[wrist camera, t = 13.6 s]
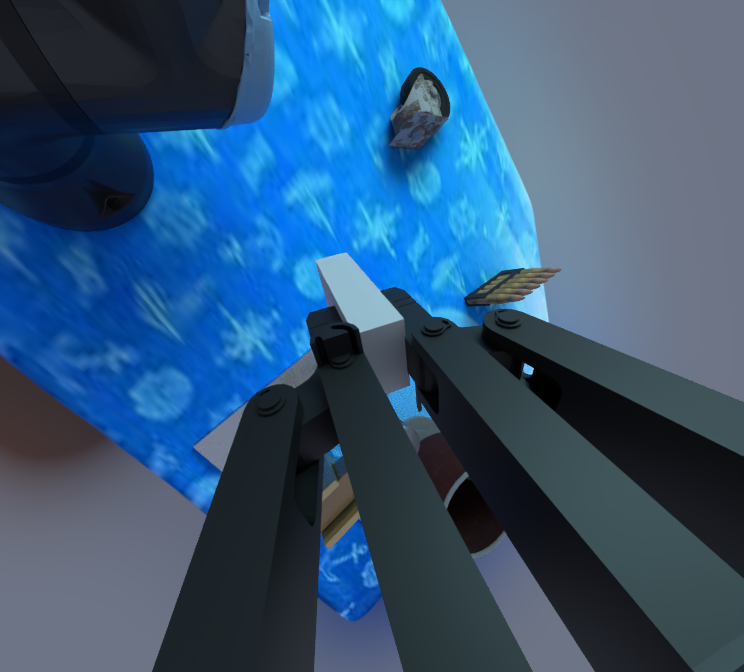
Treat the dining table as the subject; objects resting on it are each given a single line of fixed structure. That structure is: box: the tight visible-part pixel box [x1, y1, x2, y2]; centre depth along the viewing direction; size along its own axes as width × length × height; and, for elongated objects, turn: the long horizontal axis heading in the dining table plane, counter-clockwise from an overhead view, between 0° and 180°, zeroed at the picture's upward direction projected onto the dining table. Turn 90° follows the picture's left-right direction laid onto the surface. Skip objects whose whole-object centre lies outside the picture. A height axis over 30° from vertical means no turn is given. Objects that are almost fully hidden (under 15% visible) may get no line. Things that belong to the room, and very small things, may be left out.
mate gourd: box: [403, 416, 507, 559], centre depth 42 cm, size 16×14×20 cm
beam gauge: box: [193, 349, 420, 532], centre depth 33 cm, size 26×14×22 cm, turn 128°
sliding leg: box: [322, 452, 360, 549], centre depth 32 cm, size 4×6×21 cm
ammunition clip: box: [464, 267, 561, 306], centre depth 48 cm, size 11×2×12 cm, turn 121°
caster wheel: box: [389, 67, 450, 149], centre depth 43 cm, size 7×11×10 cm
